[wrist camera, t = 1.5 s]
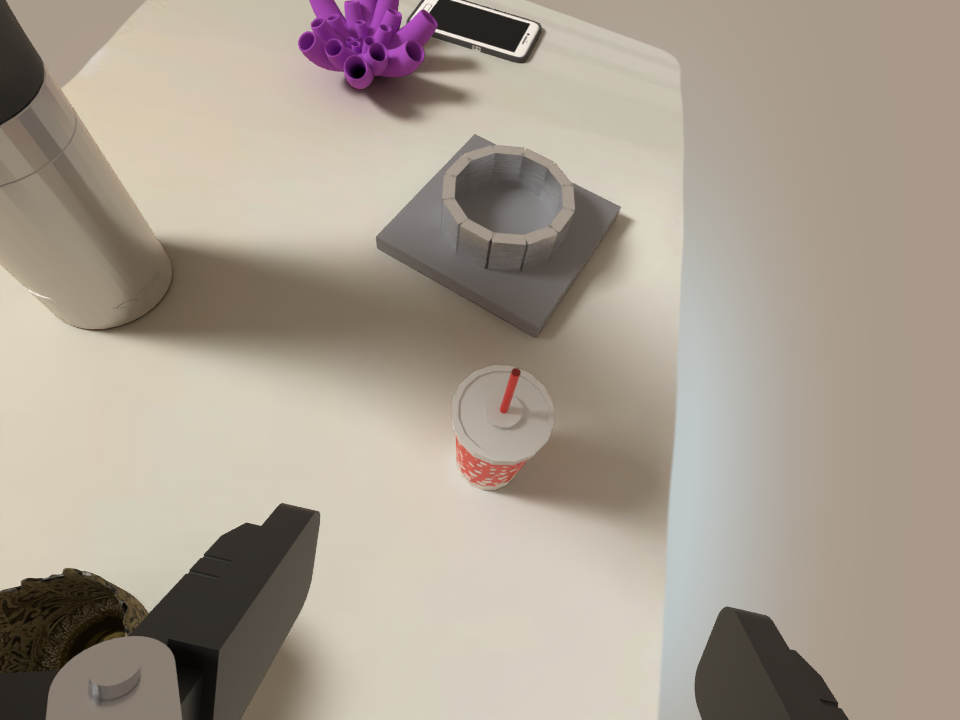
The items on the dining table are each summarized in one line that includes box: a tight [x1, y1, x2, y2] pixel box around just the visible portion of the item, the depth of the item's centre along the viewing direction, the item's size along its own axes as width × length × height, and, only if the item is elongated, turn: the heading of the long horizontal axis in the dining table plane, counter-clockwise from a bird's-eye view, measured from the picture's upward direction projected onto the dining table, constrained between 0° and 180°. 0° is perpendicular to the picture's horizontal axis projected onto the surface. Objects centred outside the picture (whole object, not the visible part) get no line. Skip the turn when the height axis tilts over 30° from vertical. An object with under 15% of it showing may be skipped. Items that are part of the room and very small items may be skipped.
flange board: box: [376, 134, 621, 338], centre depth 49 cm, size 16×16×2 cm
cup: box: [0, 568, 148, 673], centre depth 29 cm, size 8×7×8 cm
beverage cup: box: [451, 365, 555, 490], centre depth 34 cm, size 6×6×14 cm
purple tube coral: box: [298, 0, 438, 89], centre depth 56 cm, size 11×15×10 cm
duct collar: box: [441, 145, 575, 272], centre depth 47 cm, size 11×11×4 cm
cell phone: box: [406, 0, 541, 63], centre depth 64 cm, size 8×15×1 cm, turn 70°
